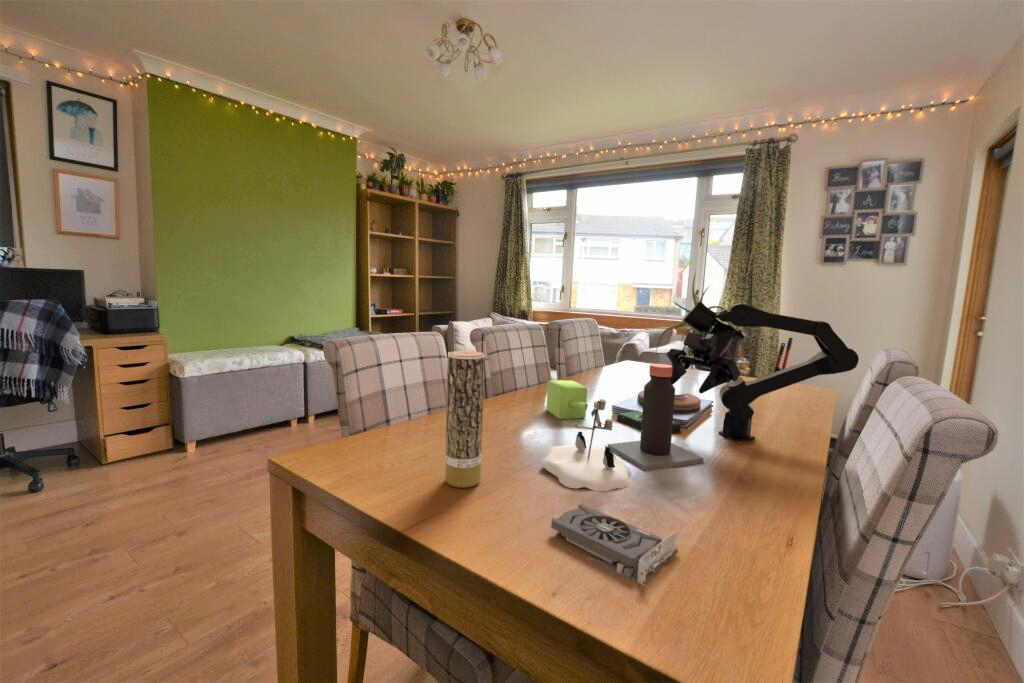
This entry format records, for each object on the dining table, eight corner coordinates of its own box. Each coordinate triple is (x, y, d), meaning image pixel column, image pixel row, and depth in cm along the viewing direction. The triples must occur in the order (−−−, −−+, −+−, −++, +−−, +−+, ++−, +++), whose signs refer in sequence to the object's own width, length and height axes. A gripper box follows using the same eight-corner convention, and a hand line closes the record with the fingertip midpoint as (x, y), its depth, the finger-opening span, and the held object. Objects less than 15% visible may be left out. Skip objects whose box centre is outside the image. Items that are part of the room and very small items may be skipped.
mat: (661, 442, 117) (661, 438, 117) (703, 462, 104) (703, 458, 104) (607, 448, 111) (607, 444, 111) (644, 470, 98) (645, 466, 98)
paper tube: (485, 477, 92) (489, 352, 89) (471, 492, 85) (475, 357, 82) (454, 472, 94) (457, 349, 91) (438, 485, 88) (441, 354, 85)
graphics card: (685, 532, 68) (645, 563, 60) (683, 556, 69) (643, 590, 60) (590, 494, 80) (545, 515, 72) (589, 515, 81) (543, 539, 72)
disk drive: (681, 433, 127) (642, 417, 140) (682, 423, 127) (643, 408, 140) (652, 437, 122) (615, 421, 135) (653, 427, 122) (616, 412, 135)
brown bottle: (654, 457, 103) (660, 369, 101) (633, 447, 109) (639, 363, 107) (676, 453, 106) (683, 367, 104) (655, 444, 112) (661, 362, 110)
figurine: (530, 451, 105) (536, 382, 101) (604, 448, 109) (613, 382, 106) (560, 500, 86) (569, 417, 82) (648, 494, 91) (660, 415, 87)
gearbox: (597, 423, 132) (599, 390, 131) (565, 424, 129) (567, 391, 128) (572, 406, 149) (574, 377, 148) (543, 407, 146) (544, 377, 145)
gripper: (674, 318, 126) (642, 361, 122) (737, 325, 110) (703, 374, 106) (690, 346, 131) (660, 388, 127) (754, 356, 115) (722, 404, 111)
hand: (684, 388), depth 117 cm, fingers open, 9 cm apart
